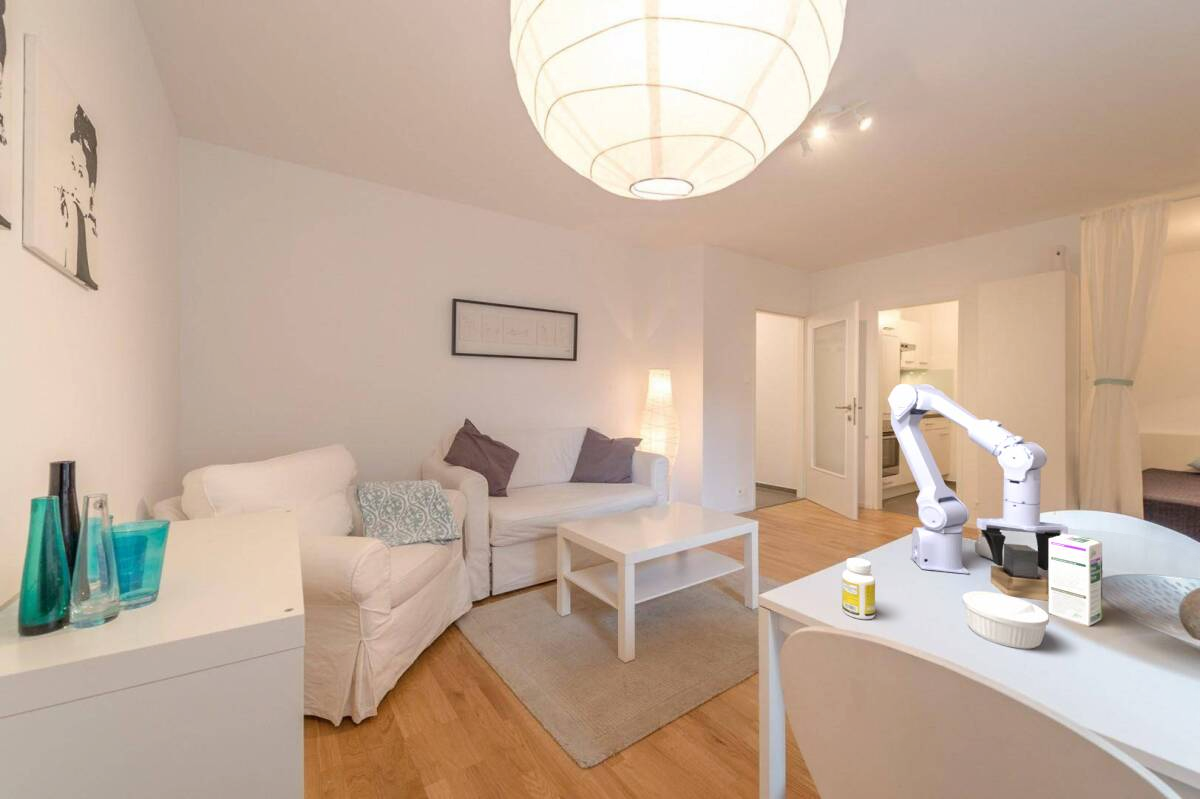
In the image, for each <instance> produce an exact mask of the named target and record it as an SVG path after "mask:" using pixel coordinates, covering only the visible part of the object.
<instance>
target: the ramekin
mask: <svg viewBox="0 0 1200 799" xmlns="http://www.w3.org/2000/svg"><path fill="white" fill-rule="evenodd" d="M962 604H963V605H964V610H965V617H966V622H967V625H968V627H969V628H970V630H971V631H973V632H974V633H975V634H976V635H977V636H978V637H981V638H982V639H983V640H987V641H990V642H992V643H994V644H996V645H997V644H998V645H1001V646H1005V647H1008V648H1014V649H1023V650H1030V649H1035V648H1036V647H1038V646H1040V645H1041V644H1042V642H1043V639H1044V635H1045V632H1046V627H1047V626H1048V625H1049V623H1050V616H1049V615H1048V613H1047V612H1046V611H1045V609H1042V608H1041V607H1039V606H1038V605H1036V604H1033V603H1031V602H1029V601H1027V600H1024V599H1022V598H1019V597H1012V596H1008V595H1006V594H1004V593H998V592H991V591H980V590H979V591H976V590H975V591H968V592H966V593H963V595H962Z"/></svg>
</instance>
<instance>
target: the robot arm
mask: <svg viewBox="0 0 1200 799" xmlns="http://www.w3.org/2000/svg"><path fill="white" fill-rule="evenodd" d="M887 401H888V403H889V406H890V426H891V428H892V430H893V433H894V435H895V436H896V439H897V441H898V443H899V446H900V448H901V451H902V452H903V453H902V454H903V455H904V457H905V460H906V462H907V465H908V467H909V469H910V471H911V474H912V476H913V478H914V481H915V483H916V485H917V487H918V490H919V493H918V495H917V497H916V498H915V500H916V501H915V502H916V504H917V507H918V510H917V512H918V518H919V521H920V522H921V524H922V525H923V526H921V527H920V526H919V527H918V526H917V527H916V526H915V527H914V528H913V530H912V534H911V555H910V558H911V560H912V561H913V562H914V561H915V562H916V563H915V562H914V563H915V564H916V565H917V566H918V567H919V568H920V569H922V570H927V571H936V572H937V571H939V572H946V573H957V574H958V573H959V574H967V575H969V574H970V571H969V570H968V569H967V568H966V567H964V565H963V528H964V527H963V525H965V524H967V522H968V521H969V519H970V512H969V509H968V507H967V505H965V504H964V503H963V501H961V499H959V497H958V495H957V493H956V492H955V491H954V490H953V489H951V488H950V487H949V486H947V485H946V483H945V481H944V479H943V475H942V474H941V472H940V469H939V468H938V465H937V463H936V461H935V459H934V456H933V454H932V452H931V450H930V448H929V445H928V443H927V442H926V438H925V437H924V434H923V433H922V431H921V428H920V426H919V424H920V422H921V420H922V419H923V417H924V416H925V415H927V413H929V412H930V411H933V412H935V413H938V414H940V415H942V417H945V418H946V419H947V420H949V421H951V422H953V423H954V424H956V425H958V427H959V426H960V427H961V428H962V429H964V430H966V431H967V436H968V439H969V440H970V441H971V442H973V443H975V444H976V445H978V446H979V447H980V448H982V449H984V450H985V451H986V452H987V453H990V454H991V455H992V456H993V457H995V458H996V459H997V462H998V464H999V465H1000V467H1001V468H1002V469H1003V491H1002V492H1003V496H1002V497H1003V498H1002V499H1003V500H1002V501H1003V502H1002V517H1000V518H980V517H979V518H976V528H978V529H980V532H981V533H982V534H983V537H985V538H986V540H987V543H988V545H989V547H990V550H991V553H992V557H993V563H994V564H995V566H1002V567H1003V565H1002V563H1003V545H1004V544H1005V540H1006V536H1005V535H1004V534H1003V533H1002V531H1006V532H1020V533H1029V534H1031V533H1032V534H1035V538H1036V546H1037V551H1038V567H1040V568H1041V569H1043V570H1048V567H1049V539H1050V538H1053V537H1056V536H1060V535H1061V534H1066V535H1068V528H1069V527H1068V526H1067V525H1065V524H1061V523H1054V522H1053V523H1051V522H1044V521H1043V522H1042V521H1041V477H1042V476H1041V472H1042V471H1041V470H1042V468H1044V467H1045V465H1046V464H1047V460H1048V456H1047V452H1046V451H1045V449H1044V448H1043V447H1041V446H1040V445H1039V444H1038V443H1035V442H1033V441H1024V440H1025V438H1024V437H1023V436H1021V435H1016V434H1013V433H1012V432H1010V431H1009V430H1007V429H1005V428H1004V427H1002V425H1003V423H1002V422H1000V421H999V420H991V419H989V418H988V419H987V418H986V419H979V418H978V417H977V416H975V415H974V414H973V413H971V412H970V411H968V410H967V409H965V408H964V407H963V406H961V405H960V404H959V403H957V402H956V401H954V400H953V399H952V398H950V397H949V396H947V395H946V394H945V392H944V391H942V390H941V389H937V388H936V387H935V386H933V385H931V384H929V383H928V384H927V383H925V384H922V383H921V384H907V383H902V384H901V383H900V384H898V385H896V386H895V387H894V388H893V389H892V391H891V392H890V394H889V396H888V398H887Z"/></svg>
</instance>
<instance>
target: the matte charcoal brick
mask: <svg viewBox="0 0 1200 799" xmlns="http://www.w3.org/2000/svg"><path fill="white" fill-rule="evenodd" d="M1003 567H1004V569H1003V572H1005V573H1006V574H1007V575H1009V576H1010V577H1016V578H1026V579H1036V580H1038V550H1036V549H1035V548H1033V547H1031V546H1029V545H1027V544H1026V545H1025V544H1013V543H1004V565H1003Z"/></svg>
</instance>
